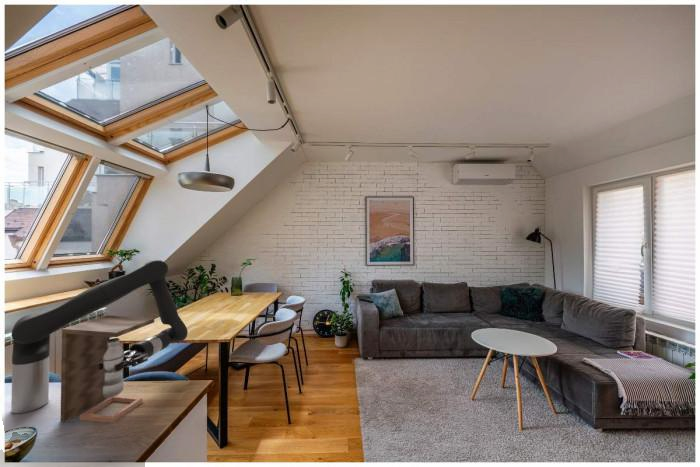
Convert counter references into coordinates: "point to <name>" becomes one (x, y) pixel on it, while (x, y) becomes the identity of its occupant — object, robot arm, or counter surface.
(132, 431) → the counter surface
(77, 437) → the counter surface
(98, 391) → the bracket shelf
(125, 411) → the square wooden frame
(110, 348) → the plastic bottle
